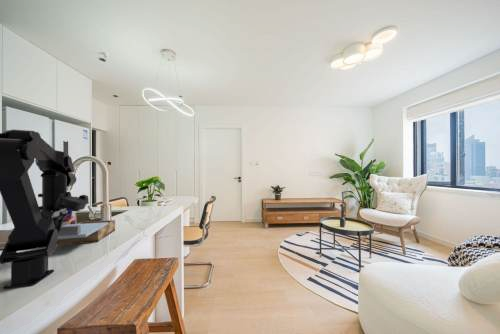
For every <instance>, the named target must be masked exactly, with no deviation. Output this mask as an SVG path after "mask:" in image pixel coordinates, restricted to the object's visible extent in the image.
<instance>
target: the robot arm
mask: <svg viewBox="0 0 500 334" xmlns="http://www.w3.org/2000/svg"><path fill="white" fill-rule="evenodd" d="M34 162H35V164H36V166H37V168H38V169H39V170H40V172H41V174H40V178H41V189H42V190H41V193H38V194H37V197H36V194H35V192H34V187H33V185H32V181H31V179H30V175H29V169H31V167H32V166H33V164H34ZM74 166H75V165H74V162H73V159H72V157H71V156H69V154H68V153H67V152H65V151H61V150H56V149H55V148H53V147H52V146H51V145H50V144H48V143H47V141H45V140H44V139H43V138H42V137H41V134H40V132H38V131H34V130H25V129H9V130H6V131H3V132H0V195H1V198H2V200H3V202H4V205H5V207H6V210H7V212H8V215H9V217H10V220H11V222H12V224H13V227H14V228H13V229H12V231H10V233H9V235H8V237H7V241H6V243H5V244H4V247H3V250H2V251H1V253H0V264H1V265H4V264H10V265H11V266H10V282H7V283H6V284H4V285H3V286H2V289H9V288H11V289H12V288H17V287H18V288H19V287H26V286H34V285H36V284H38V283H39V282H40V281H42V280H44V279H45V278H46V277H48V276H49V275H51V274H53V273H54V272H55V269H49V256H50V255H52V254H53V253H55V251H56V250H57V245H56V244H57V238H58V233H59V230H60V228H61V226H62V223H63V221H64V219H65V218H66V217H67V216H68V215H70V214H72V212H68V211H67V209H70V210H72V211H75V212H80V211H81V210H84V209H85V208H86V205H88V204H89V203H90V202H89V196H88V195H86V194H80V195H79V196H72V193H71V191H67V190H68V188H69V187H72V186H74V185H75V184H76V182H77V177H76V175H75V174H74V173H75V170H76V169H75V167H74ZM37 198H41V205H39V204H38V200H37Z"/></svg>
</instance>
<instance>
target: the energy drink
mask: <svg viewBox="0 0 500 334" xmlns="http://www.w3.org/2000/svg"><path fill="white" fill-rule="evenodd" d="M67 211H68V212H72V214H70V215H68V216H67V217H66V218H65V219H64V221H63V223H62V226H65V225H70V224H76V211H72V210H70V209H67Z"/></svg>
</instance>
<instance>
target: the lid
mask: <svg viewBox="0 0 500 334" xmlns="http://www.w3.org/2000/svg"><path fill="white" fill-rule="evenodd" d="M106 225H108V222H103V223H86V224H77V223H75V224H70V225H65V226H61V228H60V230H59V233H58V238H57V239H65V238H78V237H87V236H88V235H90V234H92V233H94V232H95V231H97V230H99V229H101V228H103V227H104V226H106Z"/></svg>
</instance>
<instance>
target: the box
mask: <svg viewBox="0 0 500 334" xmlns="http://www.w3.org/2000/svg"><path fill="white" fill-rule="evenodd" d="M103 222H108V225H106V226H104V227H103V228H101V229H99V230H97V231H95V232H94V233H92V234H90V235H88V236H87V237H78V238H65V239H57V244H56V246H64V245H75V244H77V245H78V244H88V243H98V242H100V241H102V240H103V239H105V238H106V237H107V236H109V235H110V234H112V233H113V232H114V231H116V220H115V219H110V220H93V221H80V222H77V223H76V224H86V223H103Z"/></svg>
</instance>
